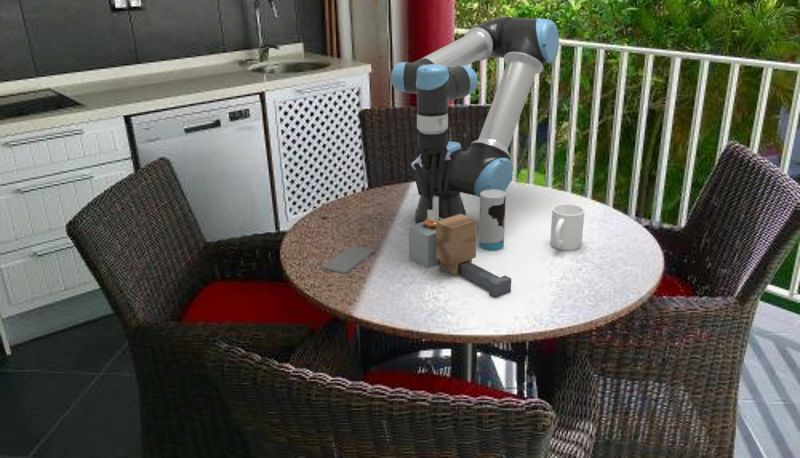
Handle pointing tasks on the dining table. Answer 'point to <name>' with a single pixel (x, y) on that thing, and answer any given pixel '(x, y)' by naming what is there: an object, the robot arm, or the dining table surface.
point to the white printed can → (492, 219)
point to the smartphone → (348, 259)
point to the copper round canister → (430, 224)
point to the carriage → (455, 241)
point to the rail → (484, 279)
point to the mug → (567, 226)
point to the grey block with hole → (422, 245)
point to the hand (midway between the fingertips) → (433, 219)
